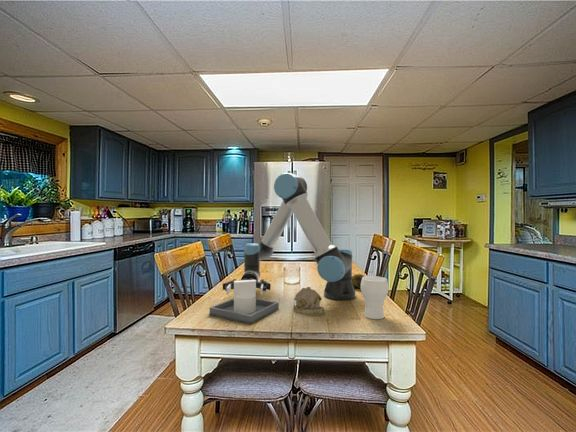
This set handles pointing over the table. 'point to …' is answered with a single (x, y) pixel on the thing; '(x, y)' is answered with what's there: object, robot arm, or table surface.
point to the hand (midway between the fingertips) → (244, 291)
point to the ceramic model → (308, 302)
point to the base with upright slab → (245, 296)
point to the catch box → (227, 312)
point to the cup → (374, 295)
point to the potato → (357, 280)
